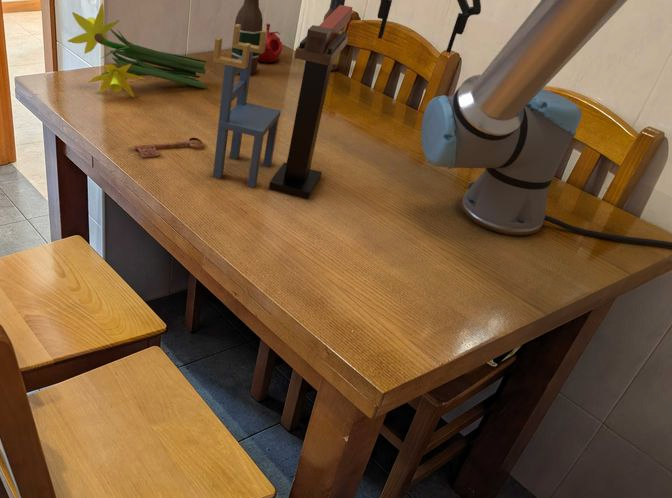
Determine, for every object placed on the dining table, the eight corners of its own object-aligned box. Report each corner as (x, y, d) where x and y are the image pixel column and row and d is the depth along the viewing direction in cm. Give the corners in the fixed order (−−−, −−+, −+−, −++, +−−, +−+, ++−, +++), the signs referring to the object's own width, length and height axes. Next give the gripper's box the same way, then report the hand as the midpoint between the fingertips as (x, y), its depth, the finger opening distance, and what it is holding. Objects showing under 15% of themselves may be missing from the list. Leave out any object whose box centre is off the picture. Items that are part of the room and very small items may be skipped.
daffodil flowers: (218, 104, 158) (86, 75, 138) (185, 115, 170) (59, 91, 150) (219, 31, 156) (85, -8, 136) (186, 48, 168) (58, 15, 148)
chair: (222, 151, 136) (237, 23, 119) (271, 164, 134) (293, 35, 117) (201, 174, 127) (214, 39, 111) (254, 188, 125) (275, 52, 108)
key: (139, 159, 130) (208, 153, 135) (139, 155, 129) (209, 149, 134) (131, 145, 134) (198, 139, 139) (131, 141, 133) (199, 135, 138)
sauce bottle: (341, 70, 184) (358, -7, 171) (325, 72, 181) (341, -6, 168) (326, 63, 188) (341, -14, 175) (309, 65, 185) (324, -13, 172)
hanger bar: (335, 18, 123) (339, -1, 121) (351, 21, 122) (355, 2, 120) (304, 50, 106) (307, 29, 104) (322, 54, 105) (327, 33, 103)
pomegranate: (241, 60, 182) (246, 25, 176) (250, 51, 189) (255, 16, 183) (275, 67, 180) (281, 31, 174) (283, 57, 188) (288, 23, 182)
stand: (285, 165, 134) (311, 23, 116) (322, 174, 132) (355, 31, 114) (265, 193, 124) (290, 42, 106) (305, 204, 122) (338, 52, 104)
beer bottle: (251, 65, 180) (264, -33, 164) (261, 75, 174) (275, -25, 158) (224, 66, 177) (235, -34, 162) (234, 76, 172) (246, -26, 156)
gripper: (523, -74, 115) (478, 51, 129) (384, -97, 119) (355, 26, 134) (524, -68, 109) (477, 62, 124) (378, -92, 114) (349, 36, 128)
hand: (414, 43), depth 129 cm, fingers open, 13 cm apart
